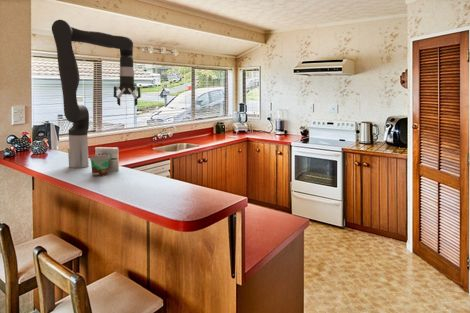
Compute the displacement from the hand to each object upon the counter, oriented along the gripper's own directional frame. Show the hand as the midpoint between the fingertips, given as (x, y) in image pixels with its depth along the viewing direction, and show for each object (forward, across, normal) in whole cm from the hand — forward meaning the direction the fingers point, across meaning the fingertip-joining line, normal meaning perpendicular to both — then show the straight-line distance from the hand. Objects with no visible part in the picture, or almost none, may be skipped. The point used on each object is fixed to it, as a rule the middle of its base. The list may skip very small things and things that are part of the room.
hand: (127, 105), depth 198 cm
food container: (+33, +9, +27) cm, 44 cm away
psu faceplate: (+33, +8, +18) cm, 38 cm away
